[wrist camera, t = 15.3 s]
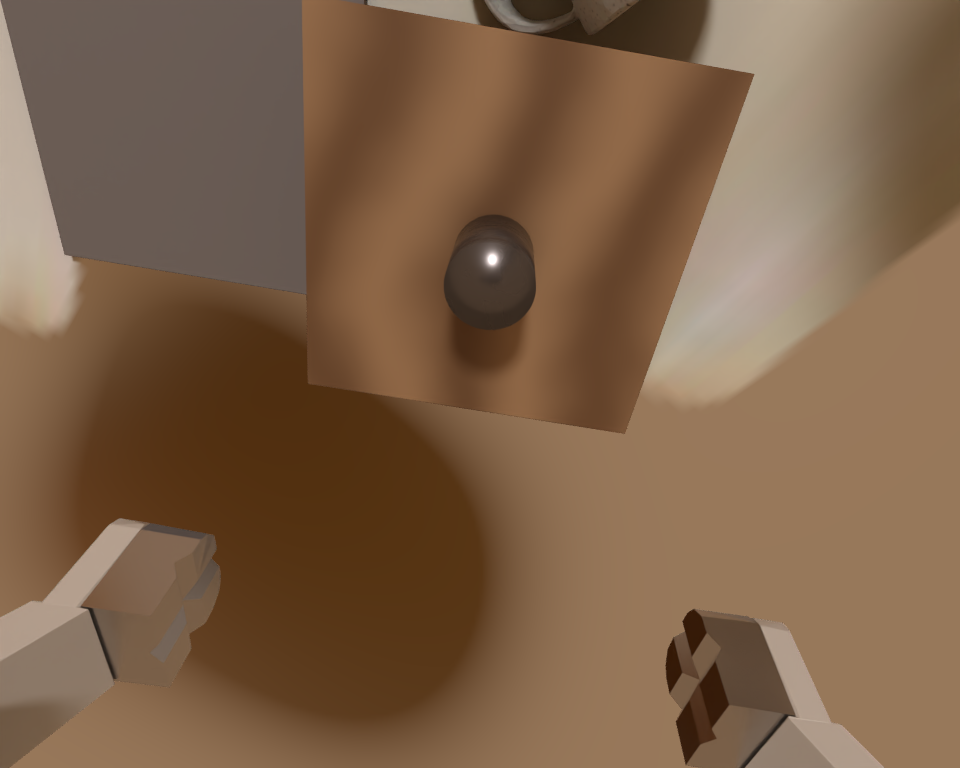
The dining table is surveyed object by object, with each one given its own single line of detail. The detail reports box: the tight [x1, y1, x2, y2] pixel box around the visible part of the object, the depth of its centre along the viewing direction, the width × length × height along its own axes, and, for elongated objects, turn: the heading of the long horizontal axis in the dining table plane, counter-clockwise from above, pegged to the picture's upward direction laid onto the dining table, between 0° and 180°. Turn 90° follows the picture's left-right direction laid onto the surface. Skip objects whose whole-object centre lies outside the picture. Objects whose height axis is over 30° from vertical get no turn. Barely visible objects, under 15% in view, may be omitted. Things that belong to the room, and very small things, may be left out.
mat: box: [1, 0, 366, 294], centre depth 30 cm, size 18×18×1 cm
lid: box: [302, 0, 754, 434], centre depth 25 cm, size 17×17×8 cm
